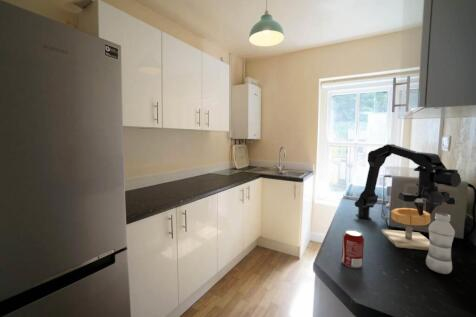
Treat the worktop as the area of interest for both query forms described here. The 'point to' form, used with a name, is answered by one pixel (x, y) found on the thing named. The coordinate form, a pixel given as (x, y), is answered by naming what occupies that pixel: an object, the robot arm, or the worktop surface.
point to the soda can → (352, 248)
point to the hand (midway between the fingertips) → (424, 217)
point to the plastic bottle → (440, 244)
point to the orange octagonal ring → (410, 216)
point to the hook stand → (407, 238)
